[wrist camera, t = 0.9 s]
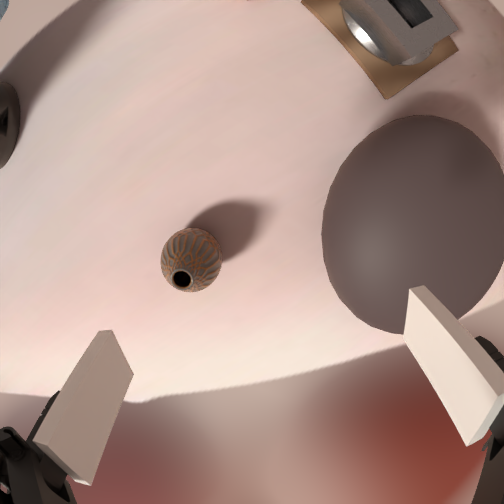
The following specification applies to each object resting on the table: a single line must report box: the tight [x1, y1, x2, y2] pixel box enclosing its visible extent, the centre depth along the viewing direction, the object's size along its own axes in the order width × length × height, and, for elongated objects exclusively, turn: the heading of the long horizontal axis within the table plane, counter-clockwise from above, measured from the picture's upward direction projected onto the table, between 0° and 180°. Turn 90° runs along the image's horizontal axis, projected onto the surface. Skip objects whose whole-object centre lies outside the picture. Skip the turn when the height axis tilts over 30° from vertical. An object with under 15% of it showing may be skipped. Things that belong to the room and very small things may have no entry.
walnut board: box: [301, 0, 458, 100], centre depth 25 cm, size 16×16×1 cm
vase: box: [161, 228, 222, 292], centre depth 32 cm, size 7×7×9 cm
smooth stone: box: [321, 115, 504, 334], centre depth 28 cm, size 25×25×15 cm
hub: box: [339, 0, 458, 66], centre depth 22 cm, size 13×13×6 cm
